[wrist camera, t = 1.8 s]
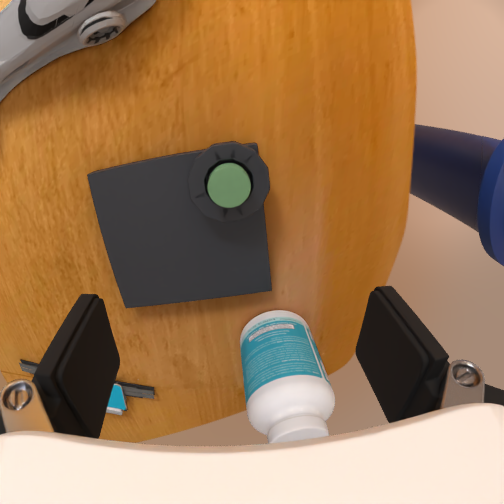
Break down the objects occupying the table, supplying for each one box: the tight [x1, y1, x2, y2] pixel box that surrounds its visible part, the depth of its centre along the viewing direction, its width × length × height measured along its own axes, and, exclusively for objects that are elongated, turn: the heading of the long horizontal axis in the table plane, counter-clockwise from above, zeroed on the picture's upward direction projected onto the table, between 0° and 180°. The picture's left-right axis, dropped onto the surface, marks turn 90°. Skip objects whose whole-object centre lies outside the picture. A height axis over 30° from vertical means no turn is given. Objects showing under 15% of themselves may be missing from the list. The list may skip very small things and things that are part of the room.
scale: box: [87, 141, 272, 308], centre depth 25 cm, size 14×13×3 cm
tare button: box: [207, 163, 251, 208], centre depth 22 cm, size 3×3×2 cm
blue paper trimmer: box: [19, 360, 155, 415], centre depth 32 cm, size 20×12×2 cm, turn 82°
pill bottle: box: [240, 310, 335, 444], centre depth 26 cm, size 8×7×14 cm
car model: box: [0, 0, 156, 102], centre depth 15 cm, size 11×24×5 cm, turn 108°
